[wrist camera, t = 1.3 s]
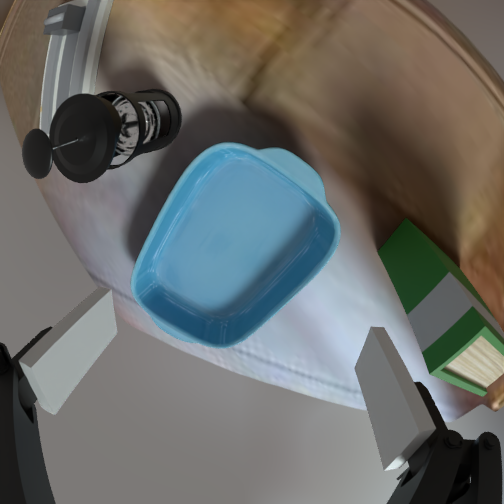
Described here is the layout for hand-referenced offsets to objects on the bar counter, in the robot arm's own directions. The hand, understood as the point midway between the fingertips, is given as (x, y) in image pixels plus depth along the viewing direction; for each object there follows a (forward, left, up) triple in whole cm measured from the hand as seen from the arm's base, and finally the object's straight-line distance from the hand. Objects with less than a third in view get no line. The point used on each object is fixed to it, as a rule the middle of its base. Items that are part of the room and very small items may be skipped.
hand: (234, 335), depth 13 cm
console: (-14, -36, -29) cm, 48 cm away
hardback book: (+7, +29, -29) cm, 42 cm away
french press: (-5, -19, -29) cm, 35 cm away
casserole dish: (+13, -4, -30) cm, 32 cm away
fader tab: (-22, -36, -27) cm, 50 cm away
